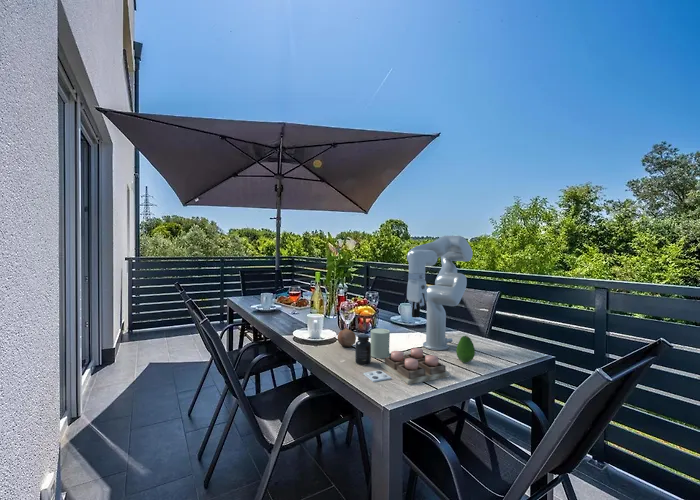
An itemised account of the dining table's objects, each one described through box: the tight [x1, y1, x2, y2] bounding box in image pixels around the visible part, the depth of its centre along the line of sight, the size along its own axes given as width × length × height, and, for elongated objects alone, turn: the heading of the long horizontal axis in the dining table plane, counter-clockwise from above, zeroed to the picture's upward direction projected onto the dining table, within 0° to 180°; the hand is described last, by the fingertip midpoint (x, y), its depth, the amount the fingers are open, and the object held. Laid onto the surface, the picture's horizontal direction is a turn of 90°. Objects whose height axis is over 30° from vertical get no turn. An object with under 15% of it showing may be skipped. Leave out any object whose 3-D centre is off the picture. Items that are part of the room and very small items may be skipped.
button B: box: [425, 354, 439, 366], centre depth 138 cm, size 5×5×3 cm
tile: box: [363, 369, 392, 383], centre depth 134 cm, size 8×8×1 cm
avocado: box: [455, 335, 476, 364], centre depth 152 cm, size 8×8×12 cm
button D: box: [405, 358, 418, 369], centre depth 134 cm, size 5×5×3 cm
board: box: [380, 353, 450, 385], centre depth 140 cm, size 20×20×4 cm
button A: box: [410, 347, 424, 358], centre depth 147 cm, size 5×5×3 cm
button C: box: [390, 350, 405, 361], centre depth 143 cm, size 5×5×3 cm
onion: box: [337, 327, 357, 348], centre depth 172 cm, size 10×9×10 cm
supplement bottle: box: [354, 333, 372, 366], centre depth 149 cm, size 7×7×12 cm
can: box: [370, 327, 391, 359], centre depth 160 cm, size 9×9×12 cm
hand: (415, 317), depth 155 cm, fingers closed
